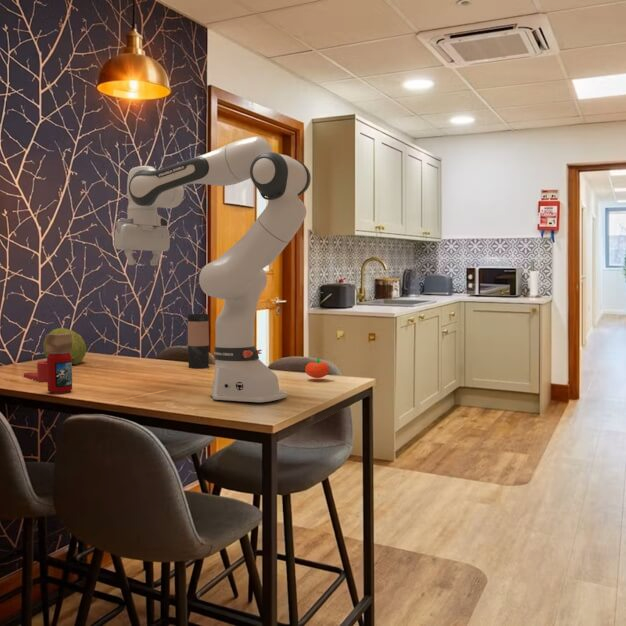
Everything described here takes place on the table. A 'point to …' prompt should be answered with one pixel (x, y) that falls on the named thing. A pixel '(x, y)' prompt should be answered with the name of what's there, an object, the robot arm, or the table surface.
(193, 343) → the travel mug
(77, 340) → the fruit
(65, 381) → the beverage can
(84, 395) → the table surface
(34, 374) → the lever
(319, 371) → the red tomato
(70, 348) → the walnut cube
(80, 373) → the table surface
